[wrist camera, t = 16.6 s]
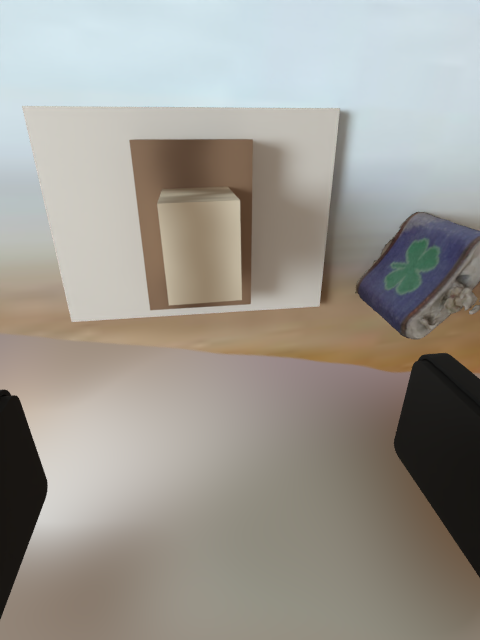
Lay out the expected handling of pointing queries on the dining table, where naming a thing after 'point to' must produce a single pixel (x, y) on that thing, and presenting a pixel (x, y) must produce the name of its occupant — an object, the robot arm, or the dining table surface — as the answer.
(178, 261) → the birch block
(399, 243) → the flask
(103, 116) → the plate
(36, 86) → the dining table surface
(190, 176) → the plinth
